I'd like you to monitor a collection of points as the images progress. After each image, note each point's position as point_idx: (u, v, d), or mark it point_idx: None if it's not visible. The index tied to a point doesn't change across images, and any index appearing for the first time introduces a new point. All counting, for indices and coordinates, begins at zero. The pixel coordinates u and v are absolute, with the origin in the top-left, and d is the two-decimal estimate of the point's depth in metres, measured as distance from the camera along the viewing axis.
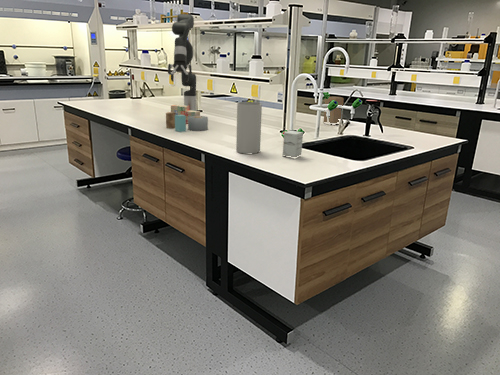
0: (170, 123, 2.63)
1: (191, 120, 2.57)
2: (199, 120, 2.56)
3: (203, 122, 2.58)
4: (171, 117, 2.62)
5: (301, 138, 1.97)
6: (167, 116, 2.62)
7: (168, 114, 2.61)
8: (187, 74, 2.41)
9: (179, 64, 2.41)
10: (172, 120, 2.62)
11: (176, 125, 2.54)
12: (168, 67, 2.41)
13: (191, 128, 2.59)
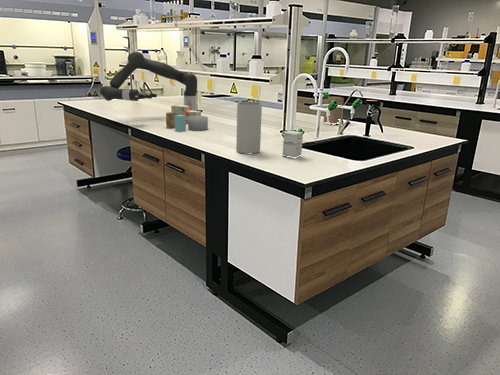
0: (170, 123, 2.63)
1: (191, 120, 2.57)
2: (199, 120, 2.56)
3: (203, 122, 2.58)
4: (171, 117, 2.62)
5: (301, 138, 1.97)
6: (167, 116, 2.62)
7: (168, 114, 2.61)
8: (145, 98, 2.57)
9: None
10: (172, 120, 2.62)
11: (176, 125, 2.54)
12: None
13: (191, 128, 2.59)
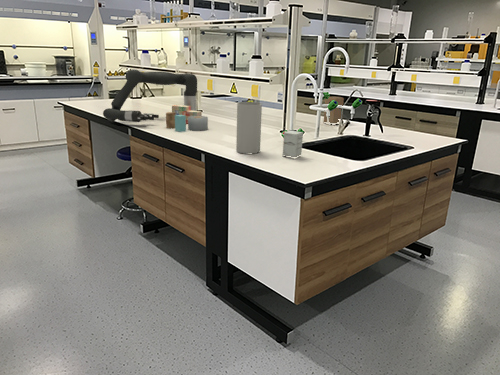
0: (170, 123, 2.63)
1: (191, 120, 2.57)
2: (199, 120, 2.56)
3: (203, 122, 2.58)
4: (171, 117, 2.62)
5: (301, 138, 1.97)
6: (167, 116, 2.62)
7: (168, 114, 2.61)
8: (147, 119, 2.62)
9: None
10: (172, 120, 2.62)
11: (176, 125, 2.54)
12: None
13: (191, 128, 2.59)
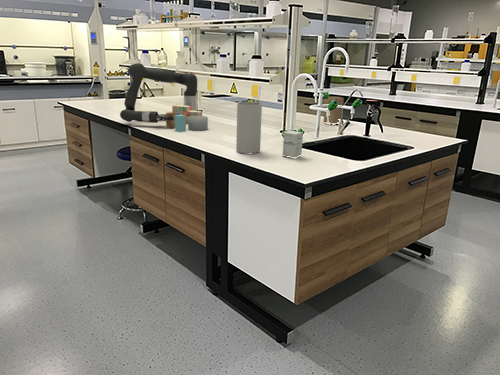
0: (170, 123, 2.63)
1: (191, 120, 2.57)
2: (199, 120, 2.56)
3: (203, 122, 2.58)
4: None
5: (301, 138, 1.97)
6: (167, 116, 2.62)
7: (168, 114, 2.61)
8: (167, 120, 2.62)
9: None
10: None
11: (176, 125, 2.54)
12: None
13: (191, 128, 2.59)
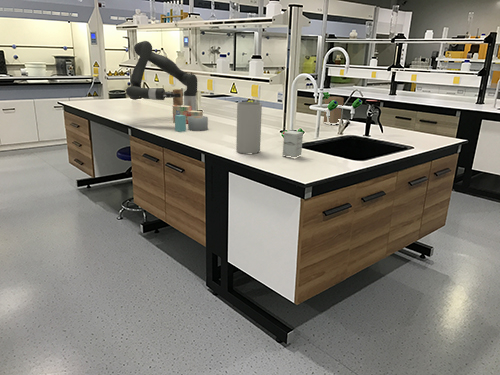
0: (177, 100, 2.57)
1: (191, 120, 2.57)
2: (199, 120, 2.56)
3: (203, 122, 2.58)
4: None
5: (301, 138, 1.97)
6: None
7: (175, 91, 2.56)
8: None
9: None
10: (179, 97, 2.57)
11: (176, 125, 2.54)
12: None
13: (191, 128, 2.59)
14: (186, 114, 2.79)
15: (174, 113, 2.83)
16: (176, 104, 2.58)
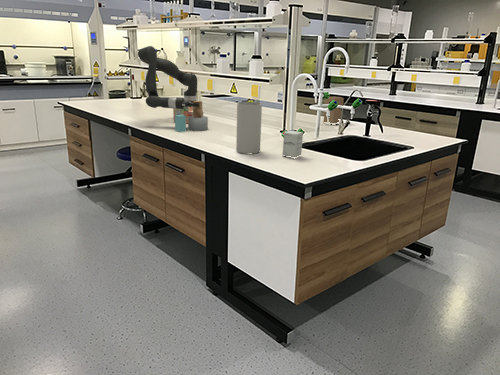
0: (197, 112, 2.58)
1: (191, 120, 2.57)
2: (199, 120, 2.56)
3: (203, 122, 2.58)
4: None
5: (301, 138, 1.97)
6: None
7: None
8: (192, 106, 2.55)
9: None
10: (199, 109, 2.58)
11: (176, 125, 2.54)
12: None
13: (191, 128, 2.59)
14: (187, 114, 2.79)
15: (175, 113, 2.83)
16: (196, 116, 2.59)
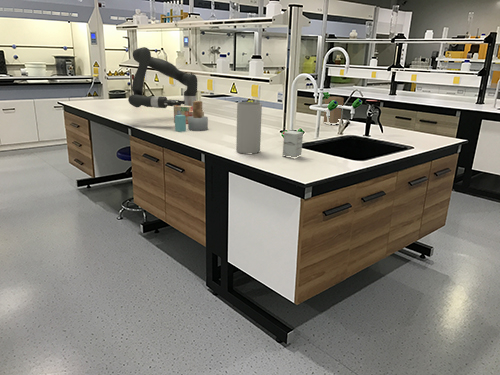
0: (197, 112, 2.58)
1: (191, 120, 2.57)
2: (199, 120, 2.56)
3: (203, 122, 2.58)
4: (198, 106, 2.57)
5: (301, 138, 1.97)
6: (194, 105, 2.57)
7: (195, 103, 2.57)
8: (174, 105, 2.57)
9: None
10: (199, 109, 2.58)
11: (176, 125, 2.54)
12: None
13: (191, 128, 2.59)
14: (187, 114, 2.79)
15: (175, 113, 2.82)
16: (196, 116, 2.59)
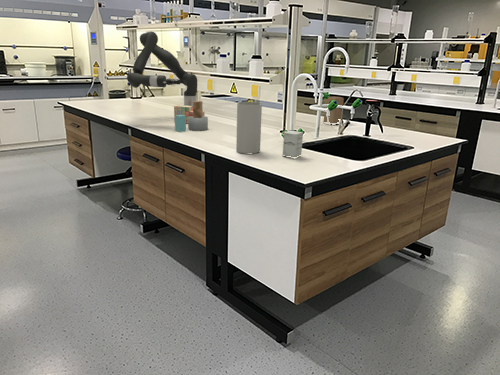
0: (197, 112, 2.58)
1: (191, 120, 2.57)
2: (199, 120, 2.56)
3: (203, 122, 2.58)
4: (198, 106, 2.57)
5: (301, 138, 1.97)
6: (194, 105, 2.57)
7: (195, 103, 2.57)
8: (173, 84, 2.52)
9: None
10: (199, 109, 2.58)
11: (176, 125, 2.54)
12: None
13: (191, 128, 2.59)
14: (188, 114, 2.79)
15: (175, 113, 2.82)
16: (196, 116, 2.59)
